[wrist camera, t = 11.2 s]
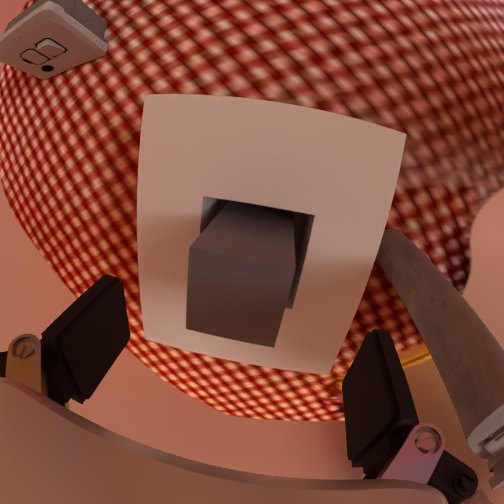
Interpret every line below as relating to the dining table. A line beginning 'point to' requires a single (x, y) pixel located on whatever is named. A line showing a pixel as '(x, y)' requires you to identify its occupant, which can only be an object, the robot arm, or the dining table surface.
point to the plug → (241, 273)
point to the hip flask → (453, 346)
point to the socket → (266, 194)
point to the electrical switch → (53, 38)
